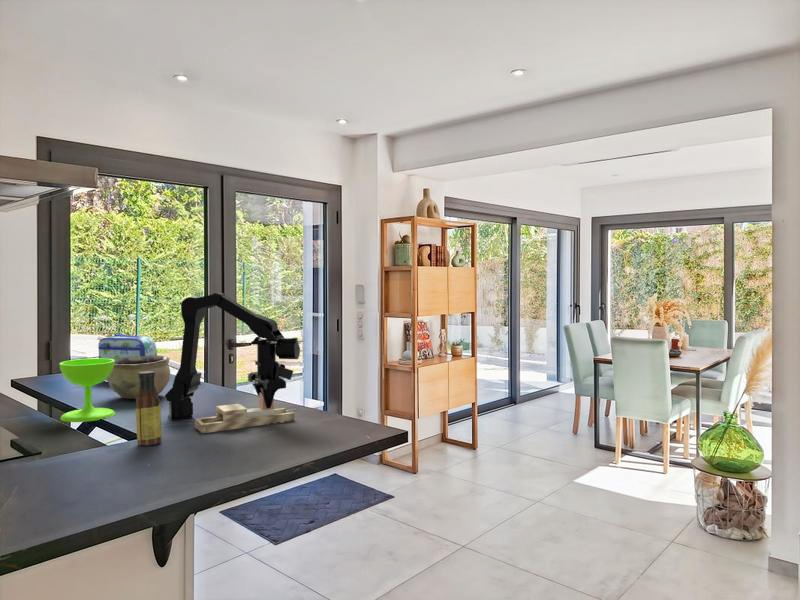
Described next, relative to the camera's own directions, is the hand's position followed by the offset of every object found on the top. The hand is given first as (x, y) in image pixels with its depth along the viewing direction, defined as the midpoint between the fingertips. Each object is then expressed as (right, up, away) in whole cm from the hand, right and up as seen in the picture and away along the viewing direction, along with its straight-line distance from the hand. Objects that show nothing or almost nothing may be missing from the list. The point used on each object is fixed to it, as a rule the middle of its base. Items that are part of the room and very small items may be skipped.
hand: (266, 406), depth 183 cm
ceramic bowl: (-56, -3, +34) cm, 66 cm away
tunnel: (-5, -5, -3) cm, 8 cm away
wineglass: (-60, -4, +5) cm, 60 cm away
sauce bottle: (-26, -6, -26) cm, 37 cm away
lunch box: (-76, -2, +66) cm, 101 cm away
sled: (-5, -3, -3) cm, 6 cm away
